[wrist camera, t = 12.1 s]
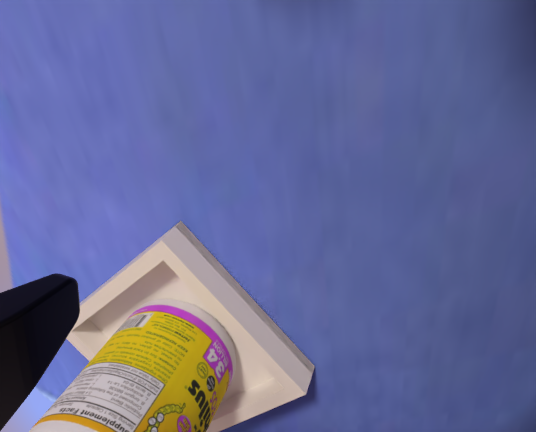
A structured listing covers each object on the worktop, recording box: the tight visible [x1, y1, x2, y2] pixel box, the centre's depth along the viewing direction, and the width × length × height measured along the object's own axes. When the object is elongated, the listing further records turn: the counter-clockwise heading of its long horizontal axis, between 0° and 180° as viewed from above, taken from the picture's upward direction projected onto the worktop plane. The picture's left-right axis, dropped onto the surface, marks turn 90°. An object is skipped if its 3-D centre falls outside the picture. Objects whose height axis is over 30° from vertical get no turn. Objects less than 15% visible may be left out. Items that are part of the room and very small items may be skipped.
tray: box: [66, 221, 315, 432], centre depth 28 cm, size 11×11×2 cm
